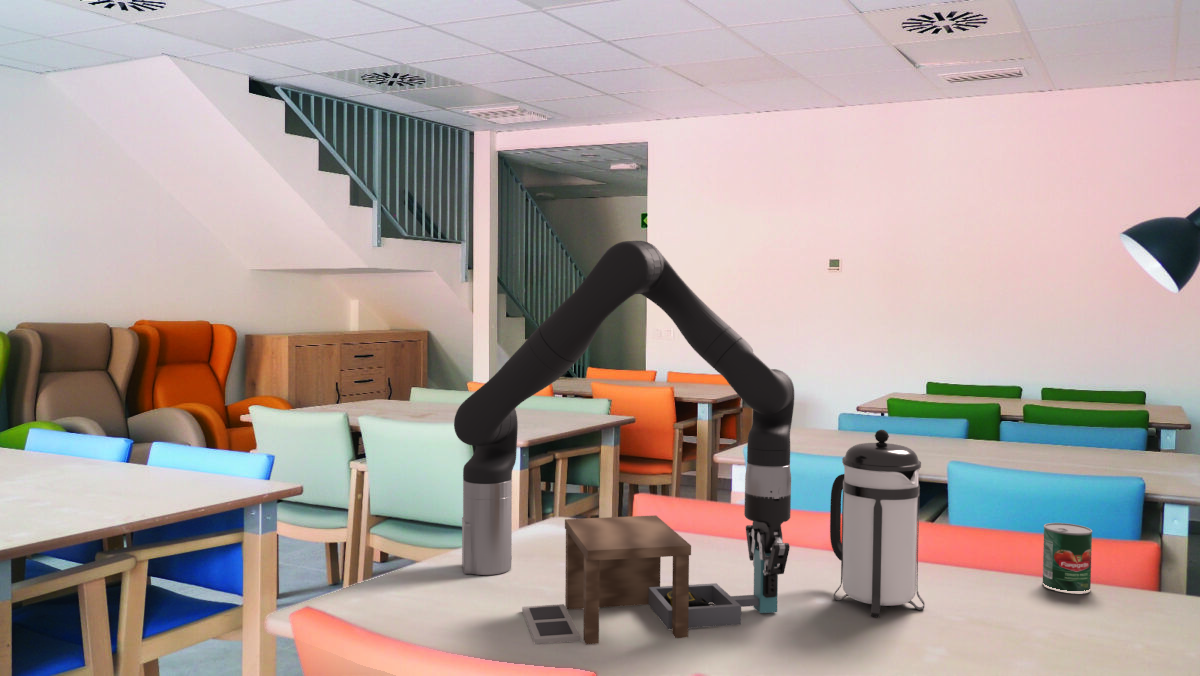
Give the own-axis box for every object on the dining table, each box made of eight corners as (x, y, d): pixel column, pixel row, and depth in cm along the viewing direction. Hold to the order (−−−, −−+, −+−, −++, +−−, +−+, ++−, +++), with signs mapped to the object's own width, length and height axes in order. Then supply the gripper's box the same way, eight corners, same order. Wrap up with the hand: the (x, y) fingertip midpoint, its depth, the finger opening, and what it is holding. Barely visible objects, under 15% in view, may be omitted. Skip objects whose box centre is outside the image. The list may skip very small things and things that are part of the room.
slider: (668, 629, 146) (668, 566, 146) (648, 604, 158) (648, 546, 158) (788, 621, 150) (789, 559, 150) (760, 597, 162) (761, 540, 162)
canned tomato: (1062, 579, 175) (1063, 521, 175) (1100, 591, 168) (1102, 530, 168) (1032, 584, 172) (1034, 525, 171) (1070, 597, 165) (1072, 535, 164)
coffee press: (929, 596, 165) (933, 426, 163) (919, 624, 150) (923, 438, 149) (829, 582, 172) (832, 420, 171) (810, 608, 157) (814, 431, 156)
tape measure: (711, 623, 151) (712, 600, 151) (671, 626, 149) (672, 603, 149) (695, 609, 157) (695, 587, 157) (657, 612, 155) (657, 590, 155)
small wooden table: (587, 646, 139) (587, 550, 139) (564, 603, 159) (564, 519, 158) (690, 639, 143) (691, 545, 142) (655, 598, 162) (656, 515, 162)
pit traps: (534, 644, 140) (534, 638, 140) (522, 611, 155) (522, 606, 155) (580, 641, 142) (580, 635, 142) (563, 608, 156) (564, 603, 156)
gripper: (731, 482, 161) (729, 581, 162) (762, 500, 147) (760, 608, 148) (772, 481, 163) (770, 579, 163) (806, 498, 149) (804, 605, 150)
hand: (765, 592), depth 156 cm, fingers closed on slider, 3 cm apart
